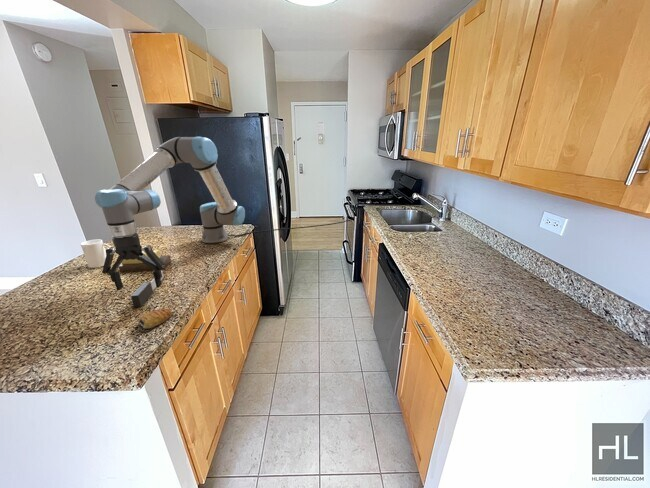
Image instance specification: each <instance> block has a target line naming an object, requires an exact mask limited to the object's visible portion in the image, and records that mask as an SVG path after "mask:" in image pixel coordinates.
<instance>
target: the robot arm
mask: <svg viewBox="0 0 650 488" xmlns="http://www.w3.org/2000/svg"><path fill="white" fill-rule="evenodd" d="M218 158H219V154H218V149H217V146H216V144H215V142H214V141H212V139H210V138H208V137H204V136H176V137H173V138H170V139H169V140H167V141H165V142H163V143H161V144H160V145H159V146H158V147H156V148H155V149H154V150H153V154H152V155H151V156H149V157H148V158H147V159H146V160H144V161H143V162H142V163H140V164H139V165H138V166H137V167H136V168H134V169H133V170H132V171H130V172H129V173H128V174H127V175H126V176H124V177H123V178H122V179H121V180H119V181H118V182H117V183H115V184H114V185H113V186H112V187H110V188H106V189H100V190H98V191H96V193H95V194H94V201H95V204H96V205H97V206H98V207H99V208H101V209H102V212H103V215H104V218H105V221H106V224H107V227H108V230H109V234H110V236H111V241H112V244H113V246H111V247H108V248H107V249H105V251H106V259H105V263H104V266H102V270H101V273H102V274H103V275H105V274H108V275H109V276H110V281H111V282H112V283H114V286H115V289H116V291H121V290H122V289H123V288H124V284H123V281H122V278H121V277H122V276H121V275H120V271H118V269H119V266H120V265H121V264H122V261H123V260H124V259H125V260H129V259H132V260H135V259H137V260H139V261H142V262H143V263H144V264H146V265H147V266H148V267H150V268H151V269H153V270H152V275H153V279H155V283H156V287H155V288H160V287H161V286H162V284H163V283H162V280H161V279H160V278H161V277H162V273H161V271H163V270H164V269H165V268H166V267H165V264H164V263H163V262H162V261H161V260H160V258H159V257H158V256H157V255H156V254H155V253H154V252H153V250H154V249H153V248H152V246H151V244H148V245H146V246H142V245H141V241H140V236H139V233H137V232H138V229H137V226H136V222H135V218H134V216H135V215H138V214H142V213H145V212H150V211H154V210H156V209H158V208H159V207H160V206H161V203H162V201H161V197H160V195H159V194H158V193H157V192H156V191H155V190H153V189H146V188H147V187H149V185H150V184H152V183H153V182H154V181H155V180H156V179H157V178H158V177H160V176H161V174H163V173H164V172H166V170H168V169H169V168H173V167H174V166H176V165H178V164H190V165H191V166H192V169H193V170H194V171H196V172H198V173H199V175H200V176H201V178H202V180H203V182H204V184H205V186H206V187H207V189H208V191H209V193H210V194H211V196H212V198H213V200H214V201H212V202H207V203H204V204H201V205H200V206H199V214H200V218H201V224H202V229H203V230H202V232H201V241H202V243H204V244H219V243H223V242H225V241H227V240H228V239H229V237H241V236H245V235H250V234H256V233H266V232H275V231H285V230H296V229H306V228H318V227H325V226H331V225H338V224H344V223H346V222H350V223H351V222H352V221H351V219H345V220H344V221H338V222H332V223H326V224H316V225H308V226H296V227H287V228H286V227H285V228H284V227H283V228H275V229H265V230H258V231H249V232H244V233H241V234H229V233H228V232H227V230H226V229H225V227H224V226H233V227H235V226H236V227H237V226H238V227H239V226H241V225H242V224H243V223H244V221H245V218H246V210H245V207H244V206H242V205H238V203H237V201H236V200H235V199H233V198H232V196H231V194H230V192H229V190H228V188H227V186H226V184H225V182H224V179H223V178H222V176H221V174H220V172H219V170H218V168H217V163H218ZM142 251H144V253H146V254H147V255H148V257H149V258H150V259H149V258H148V257H147V256H146V255H145V254H144V253H142ZM115 254H117V258H116V259H115V262H114V264H113V260H114V256H115ZM140 256H141V257H140ZM112 264H113V265H112ZM164 267H165V268H164ZM163 268H164V269H163Z"/></svg>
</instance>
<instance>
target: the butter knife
mask: <svg viewBox="0 0 650 488" xmlns="http://www.w3.org/2000/svg"><path fill="white" fill-rule="evenodd" d="M161 273H162V277H161V278H160V279H161V281H163V280H164V278H165V276H164V271H163V270H161ZM156 288H157V287H156V283H155V279H154V278H153V279H151V281H146V282H145V281H144V282H143V283H141V285H140V286H139V287H137V288H136V290H134V292H133V293H131V295H130V299H131V302H132V305H133V308H142V307H143V306H144V305H145V304H146V302H147V301H148V300H149V298H151V296H152V295H153V294H154V290H155V289H156Z"/></svg>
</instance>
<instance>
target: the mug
mask: <svg viewBox="0 0 650 488" xmlns="http://www.w3.org/2000/svg"><path fill="white" fill-rule="evenodd" d="M106 247H108V248H110V247H112V246H111V245H110V244H107V243H105V242H103V239H101V238H100V239H99V238H94V239H89V240H85V241H82V242H80V248H81V250H82V252H83V255H84V259H85V260H86V264H87V268H90V269H96V268H101V267H103V266H104V263H105V259H106Z"/></svg>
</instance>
